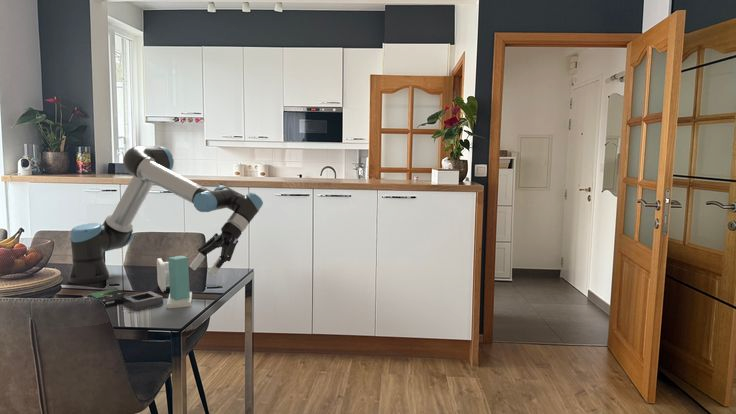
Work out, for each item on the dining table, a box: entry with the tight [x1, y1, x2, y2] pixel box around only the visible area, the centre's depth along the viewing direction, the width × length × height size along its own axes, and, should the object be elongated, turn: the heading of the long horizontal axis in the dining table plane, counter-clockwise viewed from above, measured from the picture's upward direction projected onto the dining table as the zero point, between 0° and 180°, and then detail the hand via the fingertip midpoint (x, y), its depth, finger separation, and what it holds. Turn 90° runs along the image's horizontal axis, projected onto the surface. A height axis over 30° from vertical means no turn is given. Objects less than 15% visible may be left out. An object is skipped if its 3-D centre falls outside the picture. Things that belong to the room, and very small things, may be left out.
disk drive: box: [87, 288, 131, 308], centre depth 193 cm, size 10×3×15 cm
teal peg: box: [167, 255, 191, 300], centre depth 190 cm, size 5×5×15 cm
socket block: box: [122, 290, 164, 312], centre depth 187 cm, size 10×10×3 cm
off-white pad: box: [166, 291, 193, 309], centre depth 191 cm, size 14×8×2 cm, turn 17°
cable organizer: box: [156, 257, 170, 293], centre depth 209 cm, size 15×11×12 cm
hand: (201, 271), depth 196 cm, fingers open, 13 cm apart
